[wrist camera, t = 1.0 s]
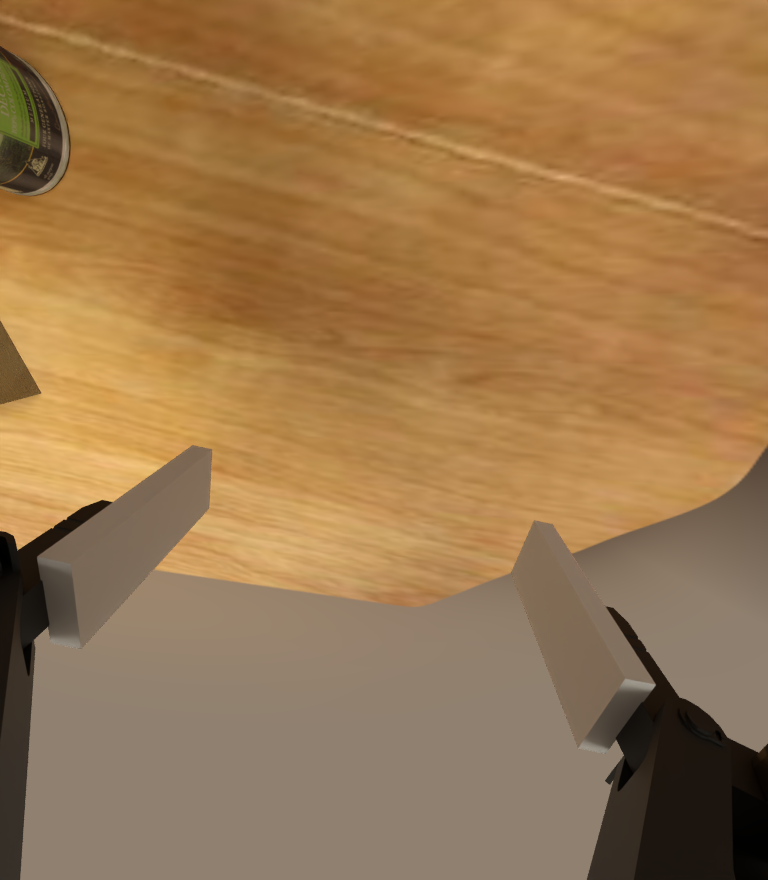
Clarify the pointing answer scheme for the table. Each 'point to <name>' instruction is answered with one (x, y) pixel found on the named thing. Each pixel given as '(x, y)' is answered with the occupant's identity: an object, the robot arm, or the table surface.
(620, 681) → the robot arm
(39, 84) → the coffee can
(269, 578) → the table surface
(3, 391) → the block
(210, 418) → the table surface
